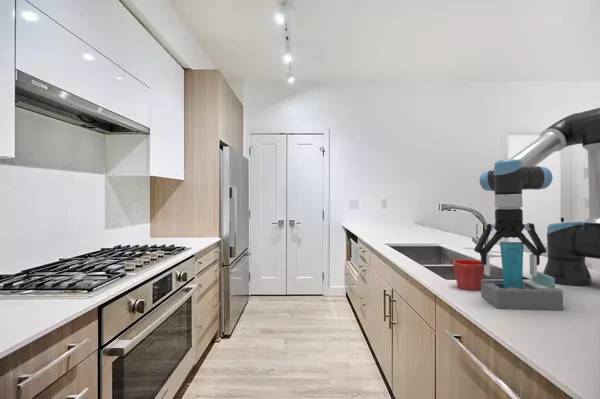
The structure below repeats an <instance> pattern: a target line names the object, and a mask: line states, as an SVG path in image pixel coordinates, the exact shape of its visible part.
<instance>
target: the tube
mask: <svg viewBox="0 0 600 399" xmlns="http://www.w3.org/2000/svg"><path fill="white" fill-rule="evenodd" d="M499 247H500V248H499V249H500V256H501V267H502V268H501V269H502V280H503V285H504V289H522V280H523V269H524V267H523V266H524V264H523V263H524V247H525V245H524V244H523V243H522V242H521V241H499Z"/></svg>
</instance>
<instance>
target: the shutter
mask: <svg viewBox="0 0 600 399" xmlns="http://www.w3.org/2000/svg"><path fill="white" fill-rule="evenodd" d="M522 281H523V283H524V284H526V285H528V286H530V287H532V288H534V289H551V290H562V292H565V291H567V288H566V287H563V286H561V285H560V284H558V283H555V278H553V277H551V276H548V275H546V274H543V272H540V271H538V270H537V276H532V275H531V280H529V279H524V280H522Z"/></svg>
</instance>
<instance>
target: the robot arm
mask: <svg viewBox="0 0 600 399" xmlns="http://www.w3.org/2000/svg"><path fill="white" fill-rule="evenodd" d="M581 144H582V145H581ZM574 145H581V146H582V148H583V149H584V150H586V151H587V164H588V165H587V169H588V171H587V172H588V175H587V176H588V208H589V210H588V211H589V213H588V215H589V217H587V219H585V220H584V221H573V222H571V221H570V222H559V223H550V224H548V225H547V227H546V228H547V229H546V230H547V231H546V241H547V242H546V244H547V245H546V246H547V249H546V246H544V243H543V242H542V240H541V239H540V237H539V235H538V233H537V231H536V227H535V224H534V223H531V222H527V223H523V221H524V220H523V219H524V217H523V216H524V214H523V213H524V212H523V209H522V207H523V191H524V190H525V191H526V190H535V191H536V190H537V191H538V190H545V189H547V188H548V187H550V185H551V184H552V182H553V178H554V176H553V173H552V171H551V170H550V169H549V168H547V167H545V166H539V165H538V164H540V163H541V162H543V161H544V160H545V159H547V158H548V157H549V156H551V155H552V154H553V153H555V152H560V151H562V150H563V149H565V148H566V147H571V146H574ZM493 166H494V168H493V170H492V169H491V170H487V171H484V172H482V173H481V174H480V177H479V185H480V186H481V188H482V189H483V190H484V191H487V192H494V207H495V208H496V209H494V220H495V221H494V224H491V223H488V222H487V223H486V222H485V223H484V228H483V232H482V233H481V235H480V236H479V239H478V242H477V243H476V246H475V247H474V252H475V253H477V254H480V261H481V264H483V265H484V275H485V276H487V277H491V262H490V259H491V258H490V254H488V253H489V252H491V249H493V248H494V246H495V245H496V244H498V242H500V240H501V239H502V238H504V239H508V238H512V239H516V238H517V239H519V241H520V242H522V243H523V244H524V247H526V248H527V249H528V250H529V252H530V254H529V275H531V277H532V276H537V271H538V266H540V262H541V261H540V256H541V255H542V254H546V253H547V262H546V264H545V266H544V270H543V272H542V273H543V274H546V275H548V276H551V277H553V278H555V284H557V285H568V286H590V285H592V283H593V282H592V276H591V273H590V271H589V269H588V266H587V264H586V258H589V259H597V260H600V107H598V108H594V109H589V110H585V111H581V112H576V113H573V114H572V113H571V114H569V115H567V116H565V117H563V118H561V119H559V120H558V121H556V122H554V123H553V124H552V125H550V126H548V127H547V128H546V129H545V130H543V131H542V132H540V134H539V137H538V138H537V139H535V140H534V141H532V142H531V143H530V144H528V145H527V146H525V147H524V148H523V149H522V150H520V151H519V152H517V153H516V154H514V155H513V156H512V157H510V158H508V159H499V160H496V161H495V162H494V164H493ZM524 229H525V231H527V233H528V234H529V237H530V238H531V240H532V242H531V241H530V240H529V239H528V238H527V237H526V235H525V234H524V233H523V231H524ZM494 230H495V231H496V232H495V233H494V234H493V235H492V237H491V238H490V239H489V236H490V234H491V232H492V231H494ZM488 239H489V241H488V242H487V240H488ZM486 242H487V243H486ZM533 243H534V244H533Z"/></svg>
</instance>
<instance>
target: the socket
mask: <svg viewBox="0 0 600 399" xmlns="http://www.w3.org/2000/svg"><path fill="white" fill-rule="evenodd" d="M480 294H481V295H480V296H481V298H482V299H483V300H485V301H486V302H487V303H489V304H490V305H492V306H493V307H495V308H496V309H497V310H498V309H500V310H503V309H504V310H530V311H531V310H537V311H538V310H539V311H540V310H541V311H564V294H563V291H562V290H551V289H534V288H532V287H530V286H528V285H526V284H524V283H523V281H522V289H504V285H503V279H483V280H481V289H480Z"/></svg>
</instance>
